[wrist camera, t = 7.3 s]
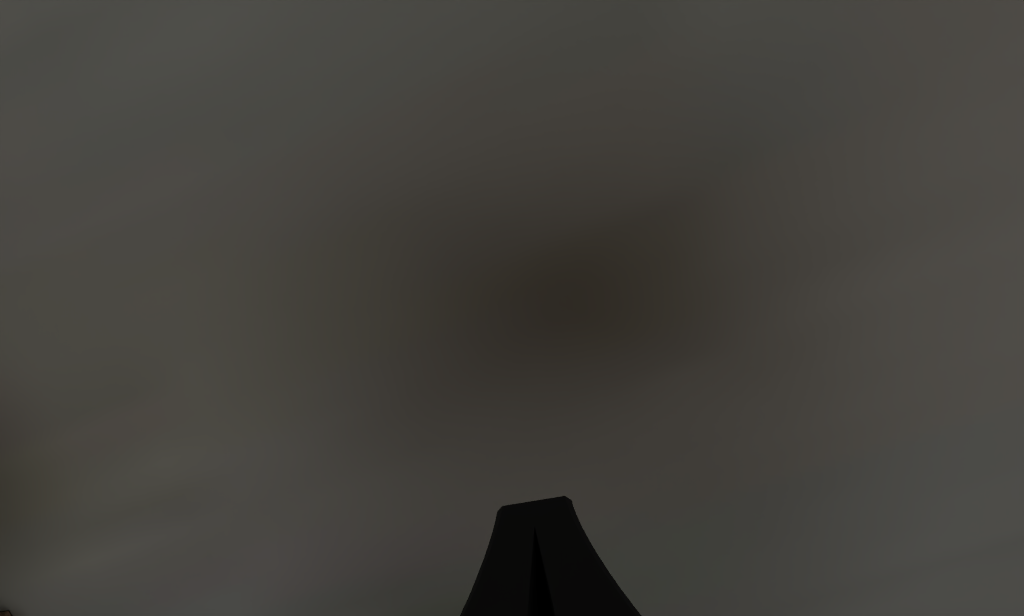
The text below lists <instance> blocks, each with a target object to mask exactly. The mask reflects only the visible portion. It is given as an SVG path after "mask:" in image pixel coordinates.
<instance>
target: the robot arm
mask: <svg viewBox="0 0 1024 616" xmlns="http://www.w3.org/2000/svg"><path fill="white" fill-rule="evenodd" d="M460 616H641V615H640V613H639V612H638V611H637V610H636V608H635V607H634V606H633V604H632V603H631V602H630V600H629V599H628V598H627V596H626V595H625V594H624V593H623V591H622V590H621V589H620V587H619V586H618V584H617V583H616V581H615V580H614V579H613V577H612V576H611V574H610V573H609V571H608V570H607V568H606V567H605V565H604V564H603V562H602V560H601V559H600V557H599V556H598V554H597V553H596V551H595V549H594V548H593V546H592V544H591V543H590V541H589V539H588V537H587V535H586V534H585V532H584V530H583V528H582V526H581V524H580V522H579V520H578V517H577V515H576V512H575V510H574V507H573V504H572V500H570V499H569V498H567V497H566V496H562V497H556V498H549V499H543V500H537V501H531V502H525V503H519V504H512V505H506V506H502V507H501V508H500V509H499V511H498V512H497V516H496V521H495V525H494V529H493V532H492V536H491V539H490V542H489V545H488V548H487V551H486V554H485V557H484V560H483V563H482V565H481V568H480V570H479V573H478V575H477V578H476V580H475V583H474V586H473V588H472V591H471V593H470V595H469V598H468V600H467V602H466V604H465V606H464V608H463V610H462V613H461V615H460Z"/></svg>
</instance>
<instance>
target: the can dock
mask: <svg viewBox="0 0 1024 616" xmlns="http://www.w3.org/2000/svg"><path fill="white" fill-rule="evenodd" d="M0 616H11V614H10V613H9V611H5V612H0Z"/></svg>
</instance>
